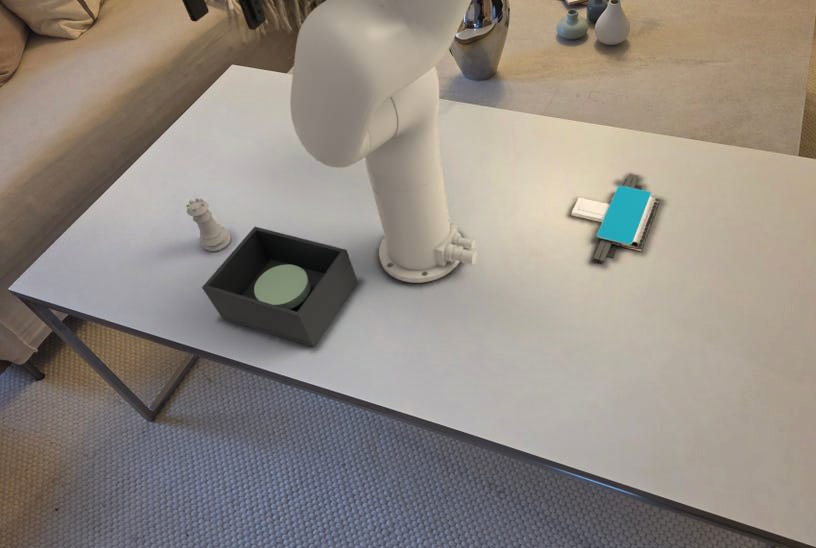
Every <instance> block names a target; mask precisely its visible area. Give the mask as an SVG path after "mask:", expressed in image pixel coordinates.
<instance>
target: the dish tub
mask: <svg viewBox="0 0 816 548" xmlns="http://www.w3.org/2000/svg"><path fill="white" fill-rule="evenodd" d="M279 265H295V266H298V267H300V268H302V269H303V270H304V271H305V272H306V274H307V276H308V279H309V281H310V284H311V288H310V292H309V294H308V296H307V298H306V299H305V300H304V301H303V302H302V303H301V304H299V305H298V306H296V307H294V308H292V309H290V310H289V309H286V308H282V307H279V306H276V305H272V304H269V303H265V302H262V301H259V300H257V298H256V296H255V294H254V286H255V283H256V281H257V280H258V278H259V277H260V276H261V275H262V274H263V273H264V272H266V271H267V270H269V269H271V268H273V267H276V266H279ZM358 283H359V281H358V278H357V275H356V273H355V270H354V267H353V264H352V261H351V257H350V255H349V252H348V249H345V248H342V247H341V248H340V247H338V246H333V245H329V244H325V243H322V242H318V241H313V240H310V239H306V238H301V237H297V236H294V235H290V234H287V233H282V232H278V231H275V230H271V229H267V228H262V227H258V226H253V228H252V229H251V230H250V231H249V232H248V233H247V235H246V236H245V237H244V238H243V239H242V241H241V242H240V243H239V244H238V245H237V246H236V247H235V249H234V250H233V251H232V252H231V253H230V254H229V255H228V257H227V258H225V260H224V261H223V262H222V263H221V265H220V266H219V267H218V268H217V269H216V271H214V273H212V275H211V276H210V277H209V278H208V280H207V281H206V282H205V283H204V284H203V285H202V286H201V289H202V290H203V292H204V293H205V295H206V296H207V297H208V299H209V300H210V303H211V304H212V306H213V307H214V308H215V310H216V311H217V312H218V314H219V316H220V317H221V319H223V320H225V321H228V322H232V323H234V324H238V325H242V326H245V327H248V328H250V329H253V330H257V331H261V332H263V333H267V334H270V335H274V336H276V337H280V338H283V339H287V340H290V341H293V342H295V343H299V344H303V345H305V346H309V347H312V348H315V347H316V346H317V345H318V343H319V341H320V340H321V338H322V337H323V335H324V334H325V333H326V331H327V329H328V328H329V327H330V325H331V323H332V322H333V321H334V319H335V317H336V316H337V314H338V313H339V312H340V310H341V308H342V307H343V306H344V304H345V303H346V301H347V299H348V298H349V296H351V294H352V293H353V291H354V289H355V288H356V286H357V285H358Z"/></svg>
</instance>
